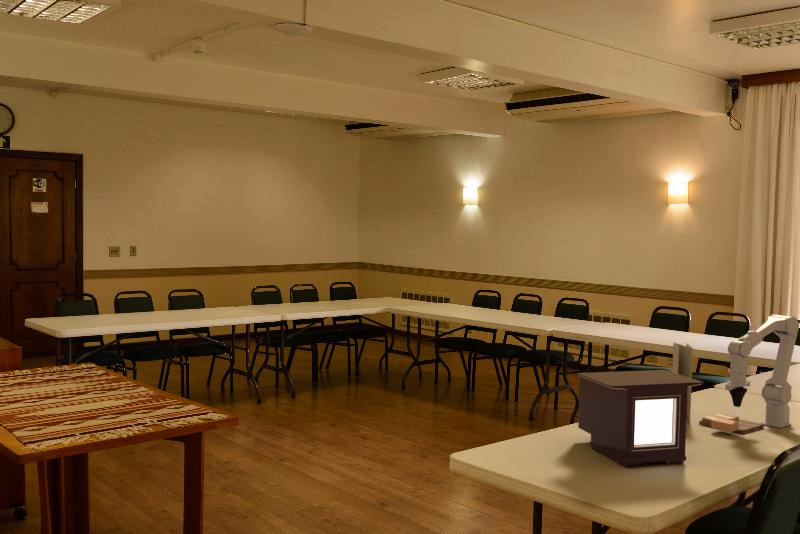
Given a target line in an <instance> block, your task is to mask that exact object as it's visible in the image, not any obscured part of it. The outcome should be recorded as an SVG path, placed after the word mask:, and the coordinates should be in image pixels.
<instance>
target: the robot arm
mask: <svg viewBox="0 0 800 534" xmlns="http://www.w3.org/2000/svg"><path fill="white" fill-rule="evenodd" d="M799 328H800V322H799V321H798V319H797V317H796V316H790V315H789V316H788V315H781V314H776V313H772V314H771V315H770V316H768V317H767V319H766V322H764V323H763V324H761V326H760V327H758V328H757V329H756V330H748V331H747V333H746V334H744V335H743V336H740V337H739V339H737V340H735V339H734V340H732V341H730V342H729V344H728V347H727V352H728V354H729V358H730V370H729V371H730V372H729V373H730V374H729V380H728V381H726V384H725V386H724V387H725V390H726V391H728V392H729V393H730V397H731V399H732V403H733V407H736V408H740V407H741V406H742V403H743V400H744V397H745V395H746V393H747V392H748V388H746V387H750V386H751V381H750V380H747V368H748V367H747V363H748V357H749V356H750V354H751V353H752V351H753V349H754V348H755V347H757V346H758V345H759V344H761V343H762V339H763V338H765V337H767V335H769V334H771V333H772V332H773V333H774V334H776V336H778V338H779V340H780V341H779V343H778V349H777V354H776V357H775V358H776V359H775V363H774V367H773V371H772V375H771V378H768V379H767V380H765V383H764V385H763V387H762V390H761V397H762V398H763V400H764V402H765V421H762V422H760V424H764V426H769V427H773V428H779V429H781V428H786V427H788V426H791V425H792V423H790V413H791V411H790V410H791V408H790V406H789V403H790V401H792V400H791V399H792V388H793V387H792V385H791V383H789V382H788V381H787V380H788V376H789V371H790V366H791V362H792V357H793V354H794V350H795V344H796V341H797V337H798V332H799Z"/></svg>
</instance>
